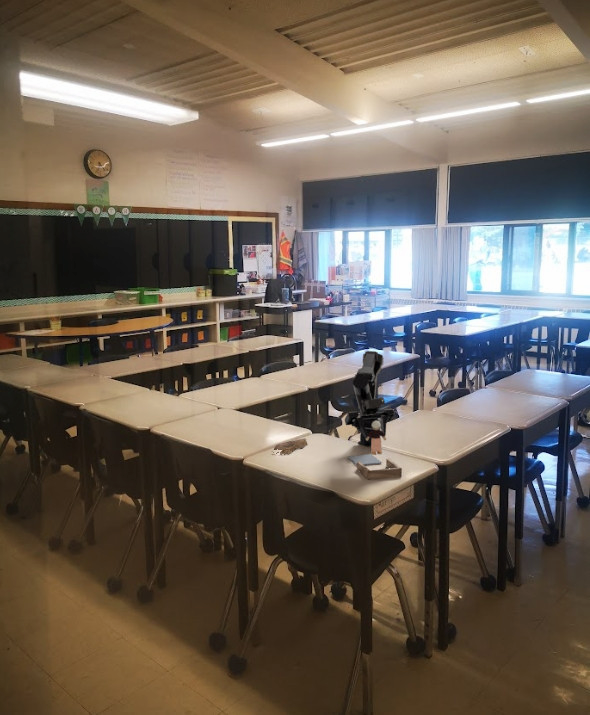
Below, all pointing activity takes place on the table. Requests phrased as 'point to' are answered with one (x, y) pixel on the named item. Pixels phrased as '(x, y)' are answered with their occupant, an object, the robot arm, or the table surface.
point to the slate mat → (365, 459)
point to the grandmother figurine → (376, 438)
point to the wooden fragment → (290, 446)
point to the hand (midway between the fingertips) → (375, 436)
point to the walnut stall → (380, 471)
